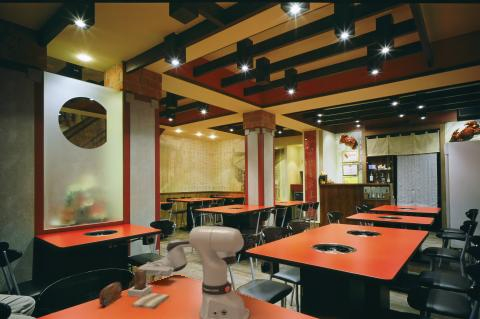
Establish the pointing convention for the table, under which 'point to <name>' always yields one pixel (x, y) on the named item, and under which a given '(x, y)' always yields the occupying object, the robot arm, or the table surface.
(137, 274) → the peg
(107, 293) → the tin
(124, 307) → the table surface
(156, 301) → the board
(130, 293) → the holder
